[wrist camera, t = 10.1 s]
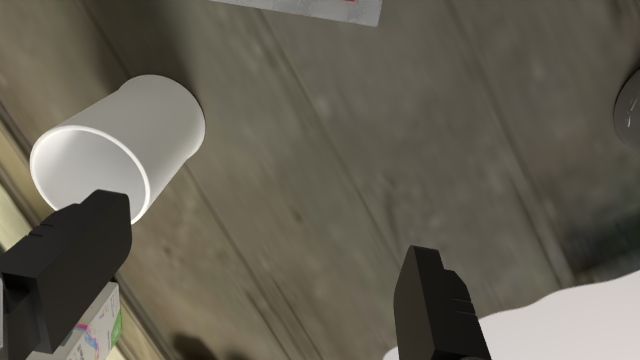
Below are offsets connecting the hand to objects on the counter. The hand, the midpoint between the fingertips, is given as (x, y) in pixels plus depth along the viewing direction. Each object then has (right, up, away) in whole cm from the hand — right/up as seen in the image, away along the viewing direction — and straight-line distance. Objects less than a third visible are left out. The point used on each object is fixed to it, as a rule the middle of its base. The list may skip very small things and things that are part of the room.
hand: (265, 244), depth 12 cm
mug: (-15, +7, +27) cm, 32 cm away
